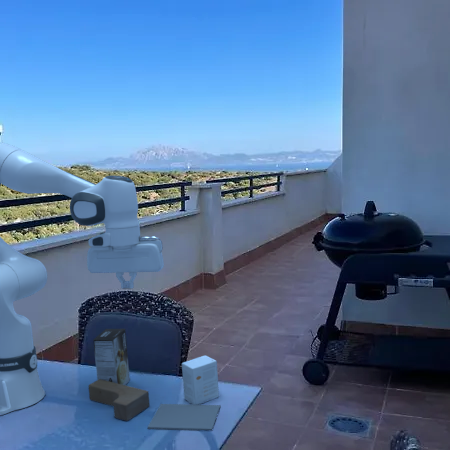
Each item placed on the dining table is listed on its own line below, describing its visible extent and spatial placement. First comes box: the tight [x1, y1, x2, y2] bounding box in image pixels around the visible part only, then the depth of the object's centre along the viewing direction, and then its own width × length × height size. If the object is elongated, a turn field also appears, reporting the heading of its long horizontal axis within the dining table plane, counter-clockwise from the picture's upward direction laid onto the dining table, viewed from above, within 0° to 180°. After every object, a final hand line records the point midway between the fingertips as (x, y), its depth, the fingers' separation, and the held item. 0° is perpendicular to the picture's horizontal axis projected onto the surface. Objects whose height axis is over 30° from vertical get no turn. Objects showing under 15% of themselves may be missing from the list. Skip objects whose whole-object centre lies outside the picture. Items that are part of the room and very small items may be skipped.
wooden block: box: [88, 379, 150, 422], centre depth 144 cm, size 9×4×18 cm
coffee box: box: [92, 328, 131, 386], centre depth 155 cm, size 9×6×16 cm
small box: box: [181, 354, 220, 405], centre depth 145 cm, size 8×6×10 cm
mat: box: [147, 403, 221, 431], centre depth 136 cm, size 16×12×1 cm
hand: (127, 288), depth 144 cm, fingers closed
